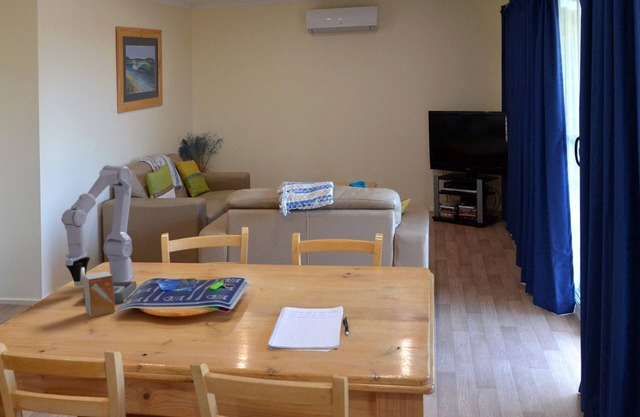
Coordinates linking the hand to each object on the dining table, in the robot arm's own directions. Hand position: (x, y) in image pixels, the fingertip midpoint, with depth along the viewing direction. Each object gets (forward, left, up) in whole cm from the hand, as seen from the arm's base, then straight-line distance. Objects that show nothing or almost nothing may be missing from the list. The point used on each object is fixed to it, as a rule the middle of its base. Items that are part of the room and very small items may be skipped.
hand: (79, 279), depth 259 cm
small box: (+19, +15, -6) cm, 25 cm away
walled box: (+2, +12, -6) cm, 13 cm away
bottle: (0, 0, -2) cm, 2 cm away
